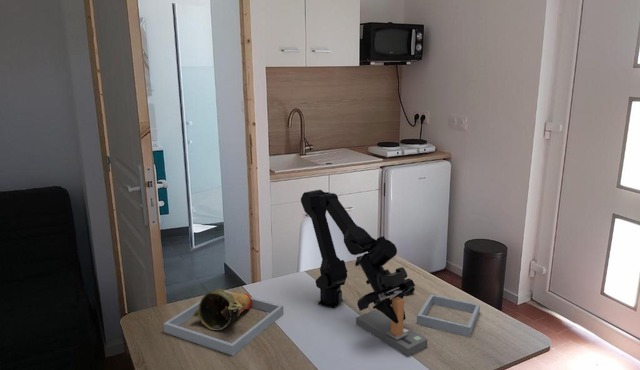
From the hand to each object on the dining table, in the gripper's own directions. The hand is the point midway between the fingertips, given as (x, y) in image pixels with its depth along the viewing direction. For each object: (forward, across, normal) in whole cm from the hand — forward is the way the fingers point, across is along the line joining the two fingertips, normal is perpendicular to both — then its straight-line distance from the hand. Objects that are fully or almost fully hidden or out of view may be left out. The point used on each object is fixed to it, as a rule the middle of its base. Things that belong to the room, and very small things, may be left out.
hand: (401, 321), depth 133 cm
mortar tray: (-24, -34, +35) cm, 54 cm away
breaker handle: (+2, 0, +4) cm, 5 cm away
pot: (-24, -34, +36) cm, 55 cm away
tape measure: (-11, +26, +22) cm, 36 cm away
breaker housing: (+2, +2, +9) cm, 9 cm away
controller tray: (+4, +23, +6) cm, 25 cm away
